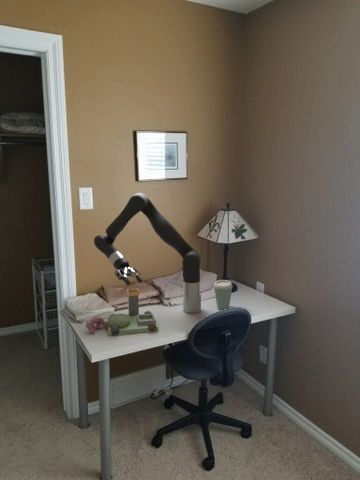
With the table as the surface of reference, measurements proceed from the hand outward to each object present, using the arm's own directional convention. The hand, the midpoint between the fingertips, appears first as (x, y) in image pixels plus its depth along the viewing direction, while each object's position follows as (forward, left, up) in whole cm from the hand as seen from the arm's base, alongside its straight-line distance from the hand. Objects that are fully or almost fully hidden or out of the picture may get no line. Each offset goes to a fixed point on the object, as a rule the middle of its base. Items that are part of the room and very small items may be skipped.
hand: (135, 282), depth 203 cm
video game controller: (+21, +10, -20) cm, 30 cm away
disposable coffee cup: (-49, -3, -19) cm, 53 cm away
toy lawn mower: (+3, +10, -19) cm, 22 cm away
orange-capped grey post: (+1, -3, -19) cm, 20 cm away
